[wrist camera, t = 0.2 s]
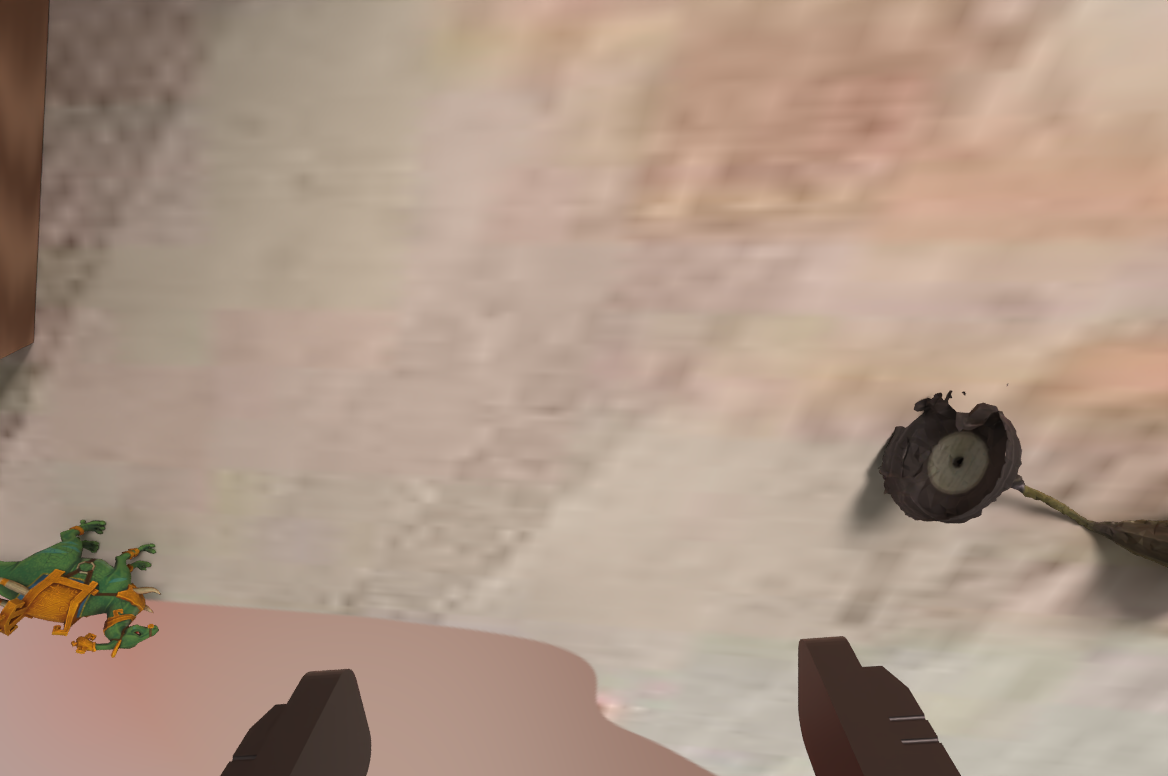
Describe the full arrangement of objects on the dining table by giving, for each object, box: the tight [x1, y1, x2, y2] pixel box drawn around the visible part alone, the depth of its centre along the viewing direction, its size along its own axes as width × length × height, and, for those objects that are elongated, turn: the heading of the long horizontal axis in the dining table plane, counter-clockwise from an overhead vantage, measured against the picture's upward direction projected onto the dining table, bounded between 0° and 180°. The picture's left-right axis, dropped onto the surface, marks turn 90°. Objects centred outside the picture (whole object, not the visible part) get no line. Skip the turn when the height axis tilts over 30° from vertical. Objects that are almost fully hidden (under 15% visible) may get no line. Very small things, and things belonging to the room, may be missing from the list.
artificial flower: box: [879, 384, 1168, 568], centre depth 33 cm, size 9×22×10 cm, turn 64°
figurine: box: [0, 520, 160, 658], centre depth 35 cm, size 3×12×8 cm, turn 60°
